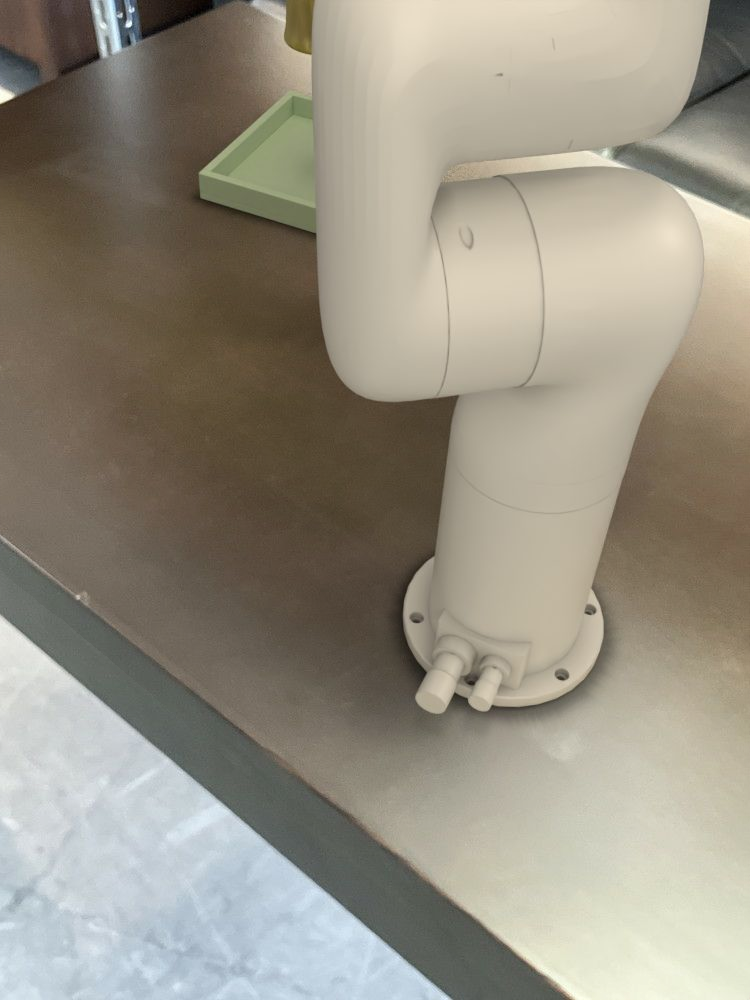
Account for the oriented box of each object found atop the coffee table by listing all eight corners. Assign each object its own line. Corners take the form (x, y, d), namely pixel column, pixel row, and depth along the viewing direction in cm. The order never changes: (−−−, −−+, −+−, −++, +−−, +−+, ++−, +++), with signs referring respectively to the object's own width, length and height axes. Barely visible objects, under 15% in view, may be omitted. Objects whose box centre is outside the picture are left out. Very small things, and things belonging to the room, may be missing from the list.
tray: (354, 245, 101) (355, 219, 99) (200, 198, 105) (198, 173, 103) (432, 153, 112) (434, 129, 110) (289, 114, 116) (289, 89, 114)
